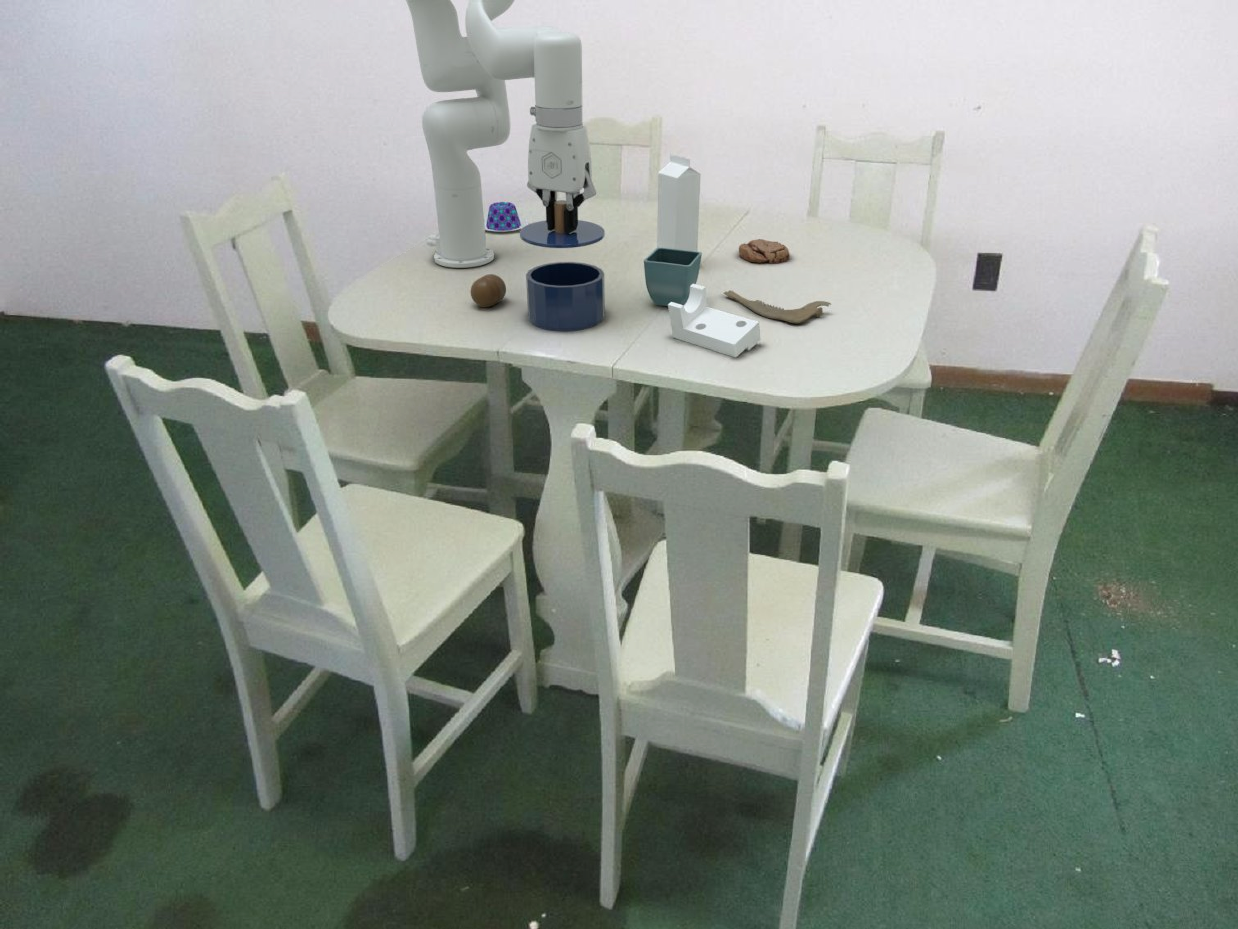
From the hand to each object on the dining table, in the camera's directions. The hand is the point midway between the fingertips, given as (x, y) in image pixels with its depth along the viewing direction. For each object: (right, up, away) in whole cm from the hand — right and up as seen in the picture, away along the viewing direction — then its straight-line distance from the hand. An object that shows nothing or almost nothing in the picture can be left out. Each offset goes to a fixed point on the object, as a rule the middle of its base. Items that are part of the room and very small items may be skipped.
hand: (562, 229), depth 156 cm
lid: (0, -1, +1) cm, 1 cm away
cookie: (+41, +4, +37) cm, 55 cm away
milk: (+22, +1, +32) cm, 39 cm away
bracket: (+26, -20, -2) cm, 33 cm away
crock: (0, -14, +8) cm, 16 cm away
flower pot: (+20, -10, +14) cm, 26 cm away
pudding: (-17, +15, +57) cm, 62 cm away
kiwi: (-14, -11, +13) cm, 22 cm away
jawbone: (+39, -11, +12) cm, 42 cm away
